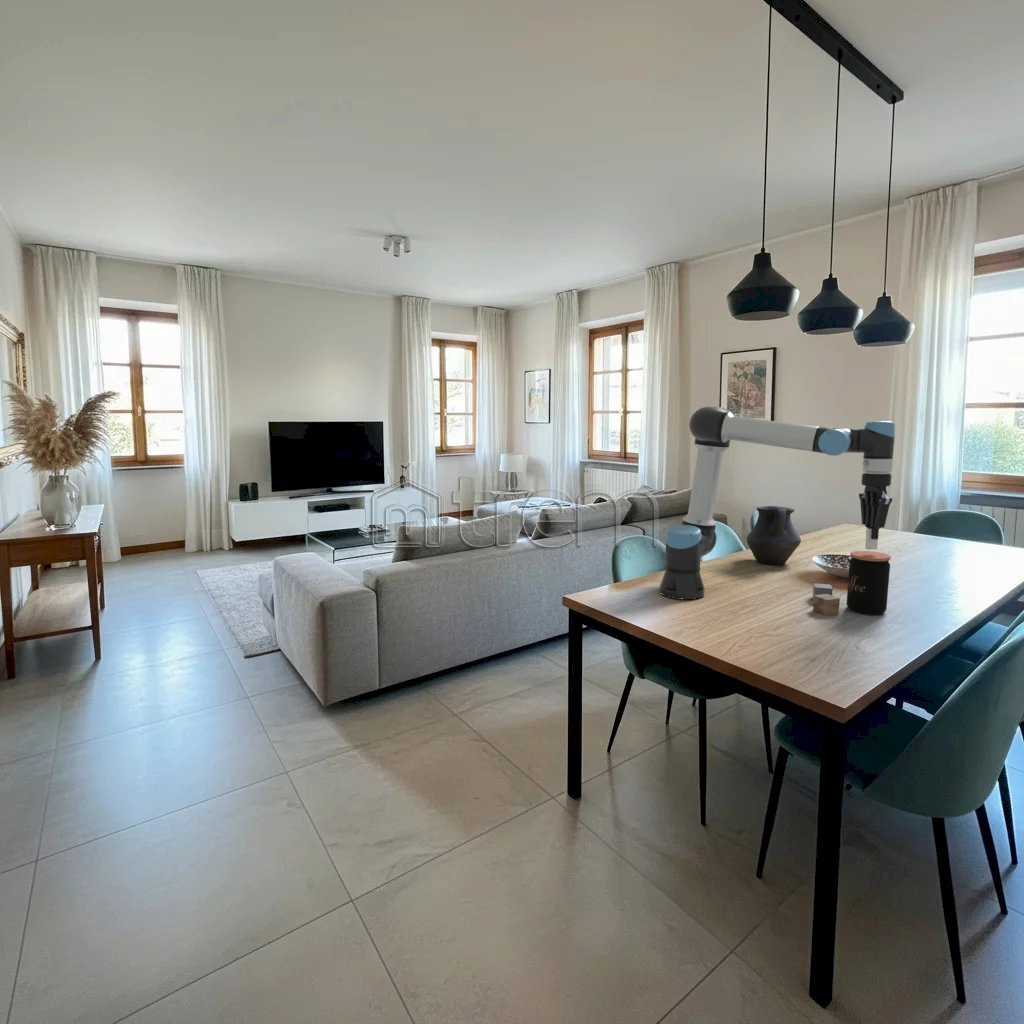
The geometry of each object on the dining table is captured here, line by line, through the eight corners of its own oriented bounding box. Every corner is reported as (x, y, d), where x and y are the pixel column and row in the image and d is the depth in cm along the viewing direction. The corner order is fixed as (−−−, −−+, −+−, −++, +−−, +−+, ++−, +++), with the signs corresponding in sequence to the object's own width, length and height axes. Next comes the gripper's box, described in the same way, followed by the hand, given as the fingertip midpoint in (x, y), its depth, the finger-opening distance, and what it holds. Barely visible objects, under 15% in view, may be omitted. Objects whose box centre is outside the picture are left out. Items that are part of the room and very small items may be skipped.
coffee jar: (841, 604, 186) (845, 550, 183) (877, 606, 183) (882, 551, 181) (853, 615, 175) (857, 557, 172) (892, 616, 173) (897, 558, 170)
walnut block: (812, 610, 180) (813, 595, 180) (826, 609, 182) (827, 593, 181) (825, 615, 176) (826, 599, 175) (838, 614, 177) (839, 598, 176)
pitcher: (791, 557, 250) (794, 501, 246) (806, 569, 229) (810, 508, 225) (741, 556, 254) (744, 500, 250) (752, 568, 233) (755, 507, 229)
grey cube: (812, 597, 194) (813, 583, 193) (829, 599, 192) (830, 584, 191) (814, 601, 189) (815, 587, 188) (831, 603, 187) (832, 588, 186)
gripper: (851, 471, 179) (846, 544, 183) (877, 474, 166) (871, 553, 170) (876, 470, 179) (870, 544, 183) (903, 474, 166) (897, 553, 170)
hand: (871, 548), depth 176 cm, fingers closed
